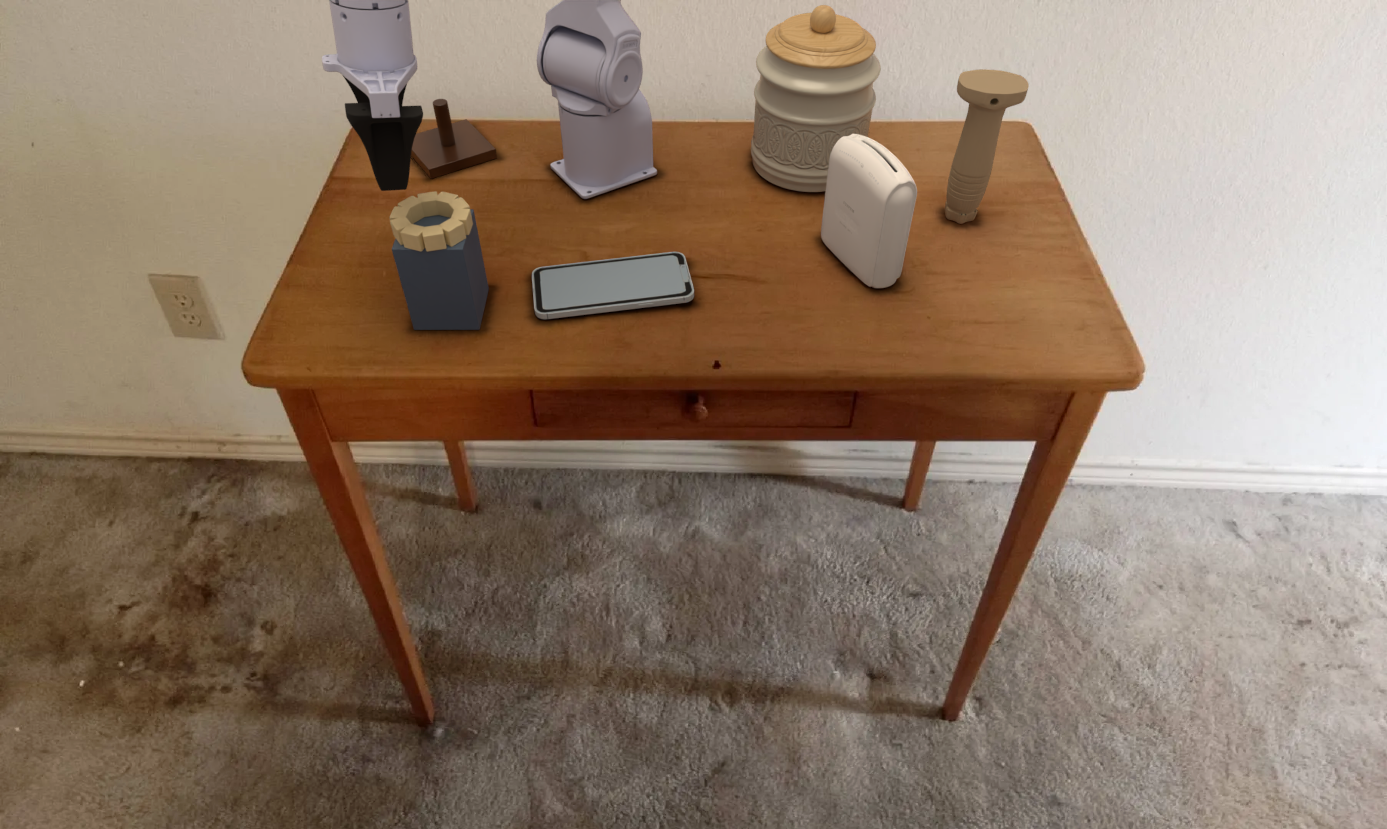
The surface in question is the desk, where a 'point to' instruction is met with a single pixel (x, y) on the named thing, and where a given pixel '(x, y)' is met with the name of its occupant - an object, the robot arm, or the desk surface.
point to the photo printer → (868, 209)
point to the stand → (450, 144)
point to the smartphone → (611, 285)
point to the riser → (444, 282)
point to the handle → (979, 137)
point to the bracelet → (431, 235)
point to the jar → (811, 96)
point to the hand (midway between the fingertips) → (389, 168)
